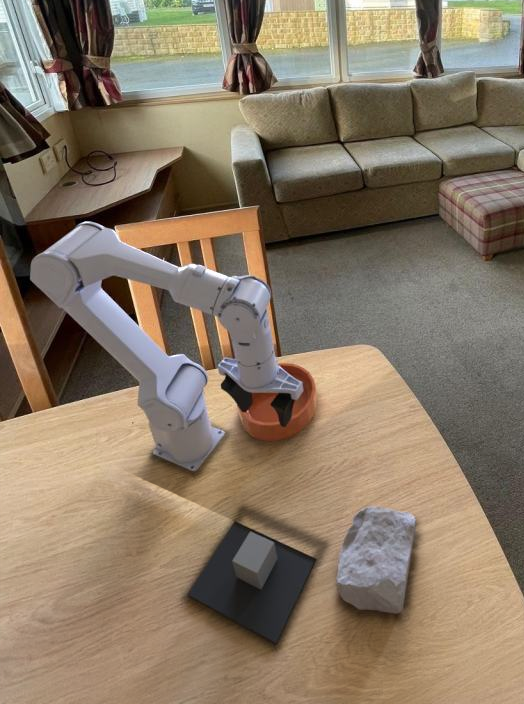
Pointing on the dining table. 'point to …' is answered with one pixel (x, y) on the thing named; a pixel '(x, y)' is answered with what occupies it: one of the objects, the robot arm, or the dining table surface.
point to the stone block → (376, 559)
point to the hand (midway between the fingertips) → (266, 414)
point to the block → (255, 560)
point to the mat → (247, 600)
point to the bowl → (265, 419)
